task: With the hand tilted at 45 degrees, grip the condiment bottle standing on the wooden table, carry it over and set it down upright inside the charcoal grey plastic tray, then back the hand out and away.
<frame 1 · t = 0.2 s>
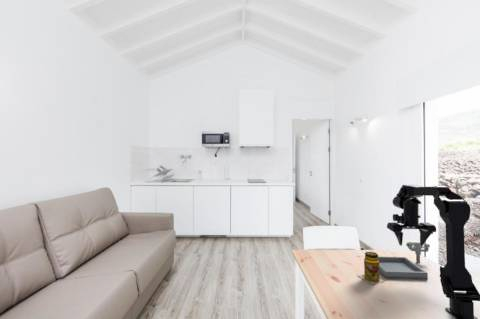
hand: (411, 245, 113), 15 cm above the table, tool pointing down, fingers open, 9 cm apart
condiment: (370, 279, 112), on the table
mechanical component: (418, 262, 129), on the table
tray: (396, 269, 121), on the table
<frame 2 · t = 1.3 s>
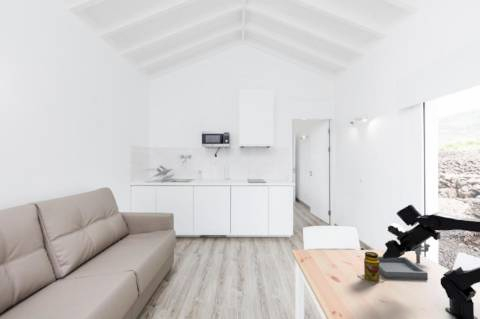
hand: (388, 254, 106), 13 cm above the table, tool tilted 45°, fingers open, 9 cm apart
nothing on the table moved.
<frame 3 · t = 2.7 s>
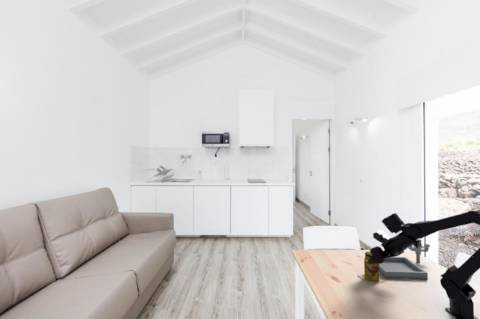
hand: (374, 260, 111), 9 cm above the table, tool tilted 45°, fingers open, 9 cm apart
nothing on the table moved.
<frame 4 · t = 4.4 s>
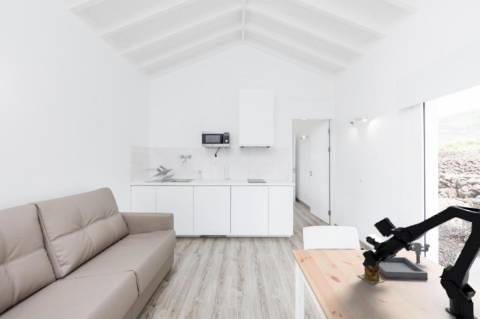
hand: (367, 263, 113), 7 cm above the table, tool tilted 45°, fingers closed on condiment, 6 cm apart
condiment: (370, 279, 112), on the table, touching gripper
everything else where it was.
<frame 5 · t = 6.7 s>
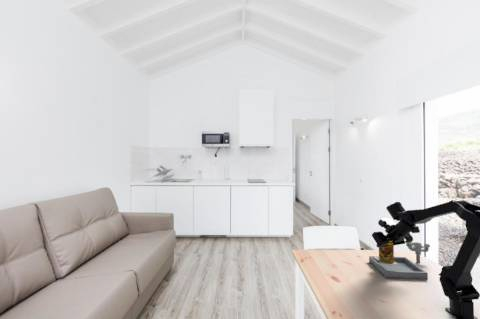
hand: (382, 245, 119), 12 cm above the table, tool tilted 45°, fingers closed on condiment, 6 cm apart
condiment: (385, 261, 118), point 5 cm above the table, touching gripper
everything else where it was.
when the fingers open (9 cm above the table, at t = 8.8 s): condiment drops 1 cm, resting on tray.
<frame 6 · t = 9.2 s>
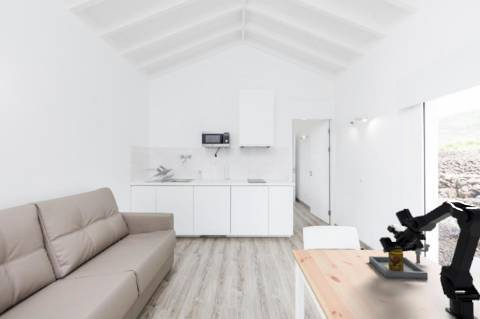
hand: (392, 251, 121), 9 cm above the table, tool tilted 45°, fingers open, 9 cm apart
condiment: (395, 269, 120), point 1 cm above the table, touching tray
everything else where it was.
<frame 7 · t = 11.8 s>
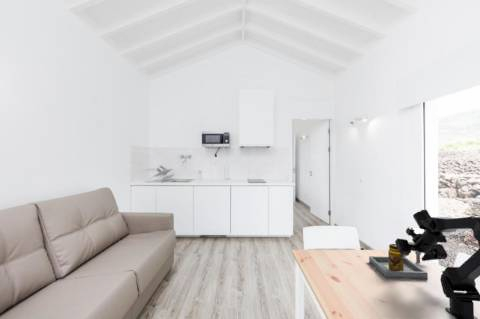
hand: (411, 258, 111), 9 cm above the table, tool tilted 40°, fingers open, 9 cm apart
nothing on the table moved.
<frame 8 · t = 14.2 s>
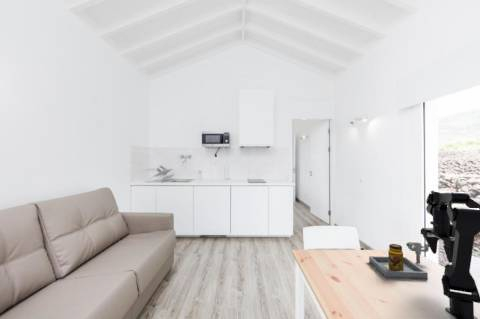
hand: (442, 257, 103), 13 cm above the table, tool pointing down, fingers open, 9 cm apart
nothing on the table moved.
at the end: condiment inside the target area on the tray (1.4 cm from its centre), point 0.6 cm above the tray's base; condiment tilted 0°; the gripper is holding nothing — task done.
